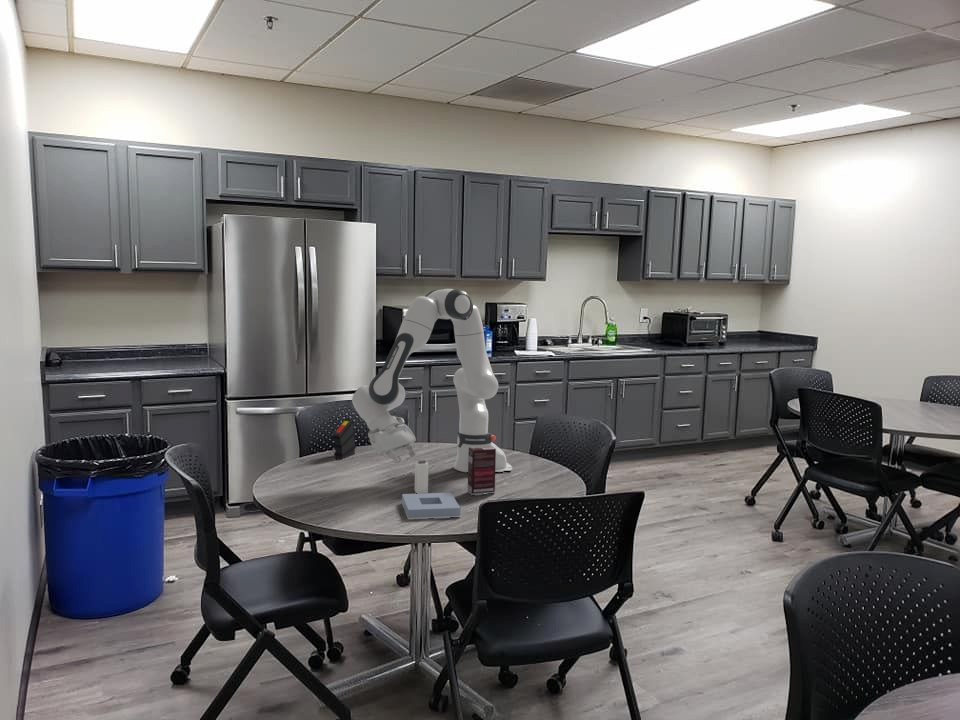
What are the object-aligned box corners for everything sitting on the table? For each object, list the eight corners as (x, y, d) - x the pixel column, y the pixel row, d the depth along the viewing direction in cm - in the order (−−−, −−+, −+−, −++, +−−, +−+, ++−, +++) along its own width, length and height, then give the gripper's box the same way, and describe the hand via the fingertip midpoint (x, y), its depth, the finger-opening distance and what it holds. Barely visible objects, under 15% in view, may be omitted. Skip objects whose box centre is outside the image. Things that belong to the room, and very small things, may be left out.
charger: (425, 489, 247) (426, 459, 246) (427, 493, 244) (428, 462, 242) (414, 490, 247) (415, 459, 245) (416, 493, 243) (416, 462, 241)
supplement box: (489, 490, 249) (491, 445, 248) (495, 494, 245) (496, 448, 243) (466, 492, 246) (468, 446, 245) (471, 496, 242) (472, 450, 240)
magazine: (359, 448, 296) (352, 418, 289) (344, 468, 286) (337, 438, 278) (351, 447, 298) (344, 417, 290) (336, 467, 287) (328, 437, 279)
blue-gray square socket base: (450, 501, 235) (450, 492, 235) (460, 517, 220) (460, 507, 219) (401, 503, 232) (402, 494, 231) (408, 519, 216) (408, 509, 216)
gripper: (371, 426, 240) (395, 459, 236) (405, 417, 258) (427, 447, 254) (360, 437, 242) (383, 470, 239) (394, 427, 260) (416, 458, 257)
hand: (406, 458), depth 247 cm, fingers open, 8 cm apart
